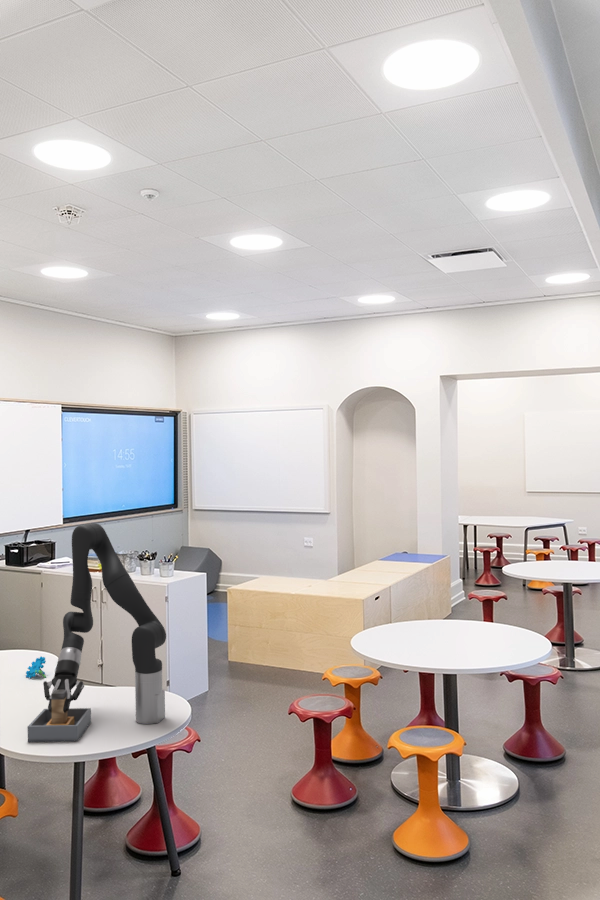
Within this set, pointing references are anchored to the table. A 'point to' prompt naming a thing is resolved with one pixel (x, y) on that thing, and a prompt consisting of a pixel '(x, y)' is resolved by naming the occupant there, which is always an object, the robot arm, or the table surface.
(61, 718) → the plug
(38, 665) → the blue lumpy cluster
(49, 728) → the box
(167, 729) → the table surface
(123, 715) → the table surface
